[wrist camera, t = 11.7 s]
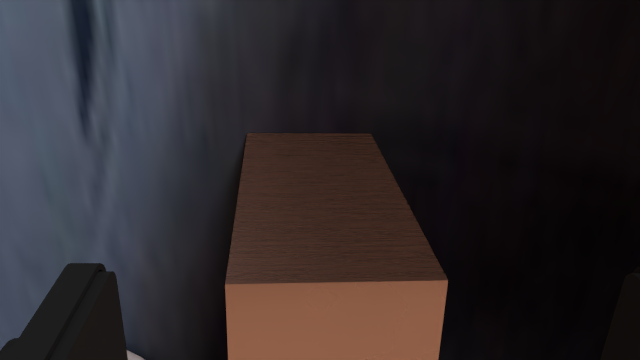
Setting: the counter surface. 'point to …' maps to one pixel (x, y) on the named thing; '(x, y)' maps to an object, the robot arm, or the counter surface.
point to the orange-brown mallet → (328, 256)
